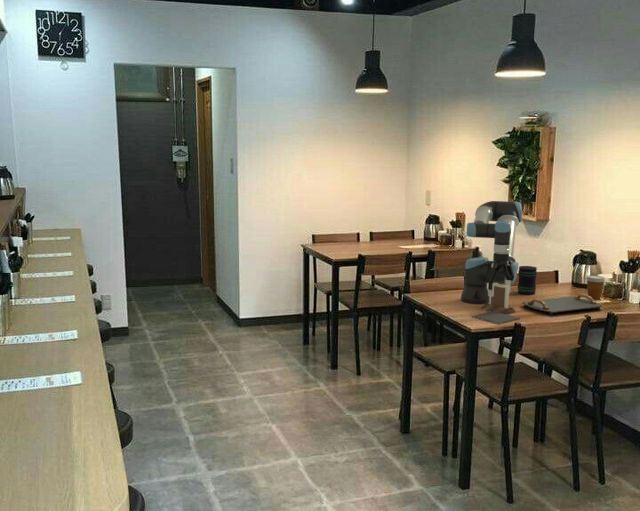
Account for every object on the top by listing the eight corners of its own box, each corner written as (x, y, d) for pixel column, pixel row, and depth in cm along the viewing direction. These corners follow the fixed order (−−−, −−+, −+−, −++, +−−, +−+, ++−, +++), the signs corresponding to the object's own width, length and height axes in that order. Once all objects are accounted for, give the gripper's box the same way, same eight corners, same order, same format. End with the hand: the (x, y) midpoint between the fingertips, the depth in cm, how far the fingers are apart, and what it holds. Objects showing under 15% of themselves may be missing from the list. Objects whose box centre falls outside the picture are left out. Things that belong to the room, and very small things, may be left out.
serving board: (574, 301, 340) (574, 289, 339) (608, 310, 319) (608, 299, 318) (516, 307, 326) (517, 295, 325) (548, 318, 305) (548, 305, 304)
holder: (482, 309, 320) (482, 304, 320) (492, 306, 325) (492, 301, 324) (505, 314, 309) (505, 309, 309) (515, 312, 314) (515, 307, 314)
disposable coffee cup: (586, 299, 341) (587, 278, 339) (583, 295, 350) (585, 274, 348) (605, 300, 339) (606, 279, 337) (601, 296, 348) (603, 275, 346)
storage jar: (534, 291, 360) (536, 266, 358) (536, 295, 351) (537, 269, 348) (516, 290, 362) (518, 265, 360) (517, 294, 353) (519, 268, 351)
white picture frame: (489, 306, 320) (490, 283, 318) (491, 305, 321) (492, 282, 319) (505, 310, 312) (506, 286, 310) (508, 309, 313) (509, 286, 312)
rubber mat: (471, 317, 304) (471, 316, 304) (492, 312, 314) (492, 311, 314) (499, 324, 292) (499, 323, 292) (519, 318, 302) (519, 317, 301)
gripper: (492, 255, 302) (489, 299, 305) (522, 251, 317) (520, 292, 320) (479, 254, 307) (477, 296, 311) (510, 249, 323) (508, 290, 326)
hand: (499, 294), depth 315 cm, fingers open, 13 cm apart
